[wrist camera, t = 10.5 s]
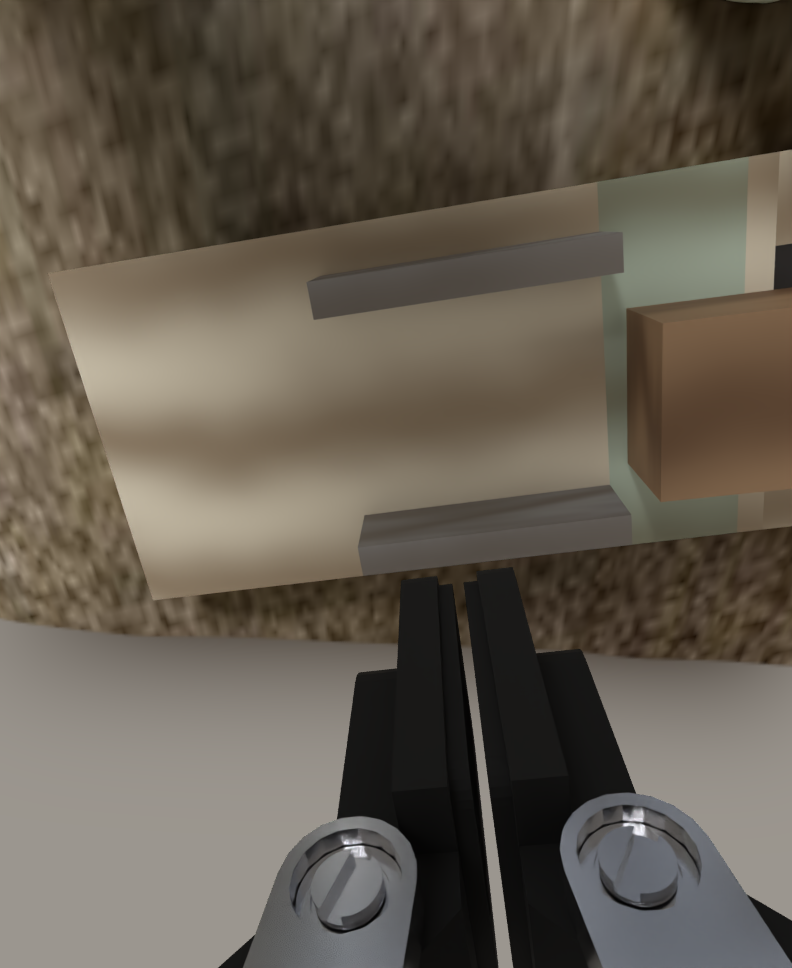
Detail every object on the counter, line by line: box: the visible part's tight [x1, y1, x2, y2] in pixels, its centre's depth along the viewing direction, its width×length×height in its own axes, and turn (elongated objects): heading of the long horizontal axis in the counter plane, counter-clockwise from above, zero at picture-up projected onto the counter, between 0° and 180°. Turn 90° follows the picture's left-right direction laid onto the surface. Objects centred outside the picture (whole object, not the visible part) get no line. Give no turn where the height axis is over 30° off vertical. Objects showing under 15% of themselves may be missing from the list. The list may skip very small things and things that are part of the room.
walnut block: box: [626, 288, 792, 502], centre depth 23 cm, size 6×6×4 cm
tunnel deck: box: [48, 150, 792, 600], centre depth 25 cm, size 14×36×6 cm, turn 99°
